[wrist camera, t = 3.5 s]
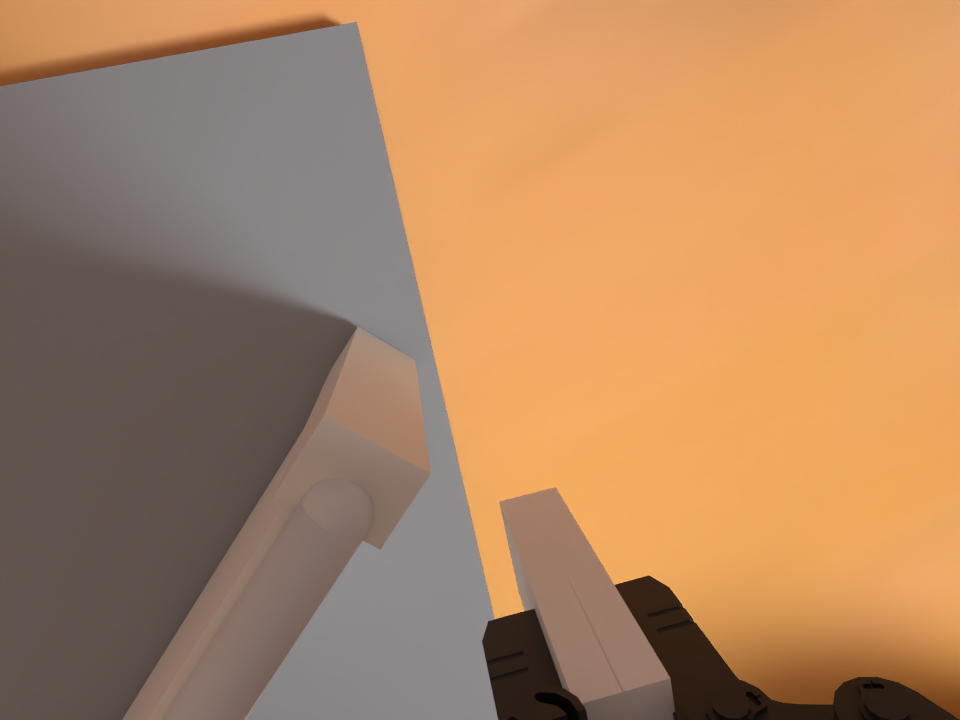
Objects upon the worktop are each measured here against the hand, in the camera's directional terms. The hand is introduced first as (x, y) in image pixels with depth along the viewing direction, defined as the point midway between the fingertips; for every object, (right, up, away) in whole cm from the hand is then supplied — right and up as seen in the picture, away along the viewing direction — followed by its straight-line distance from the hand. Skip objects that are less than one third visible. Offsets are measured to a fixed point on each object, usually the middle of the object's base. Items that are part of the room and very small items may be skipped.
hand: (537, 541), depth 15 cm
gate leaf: (-9, -2, +3) cm, 10 cm away
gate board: (-12, -1, +4) cm, 13 cm away
